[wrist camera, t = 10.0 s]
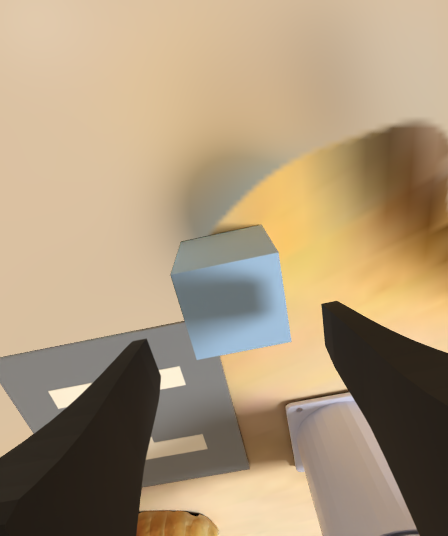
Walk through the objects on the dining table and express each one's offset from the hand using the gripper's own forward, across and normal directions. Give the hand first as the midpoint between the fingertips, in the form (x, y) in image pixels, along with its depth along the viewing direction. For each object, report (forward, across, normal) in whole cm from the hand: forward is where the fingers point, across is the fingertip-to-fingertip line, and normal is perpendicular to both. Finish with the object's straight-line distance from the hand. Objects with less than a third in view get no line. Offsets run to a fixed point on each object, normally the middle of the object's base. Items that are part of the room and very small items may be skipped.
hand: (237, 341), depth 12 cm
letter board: (+7, +10, +11) cm, 17 cm away
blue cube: (+8, 0, 0) cm, 8 cm away
